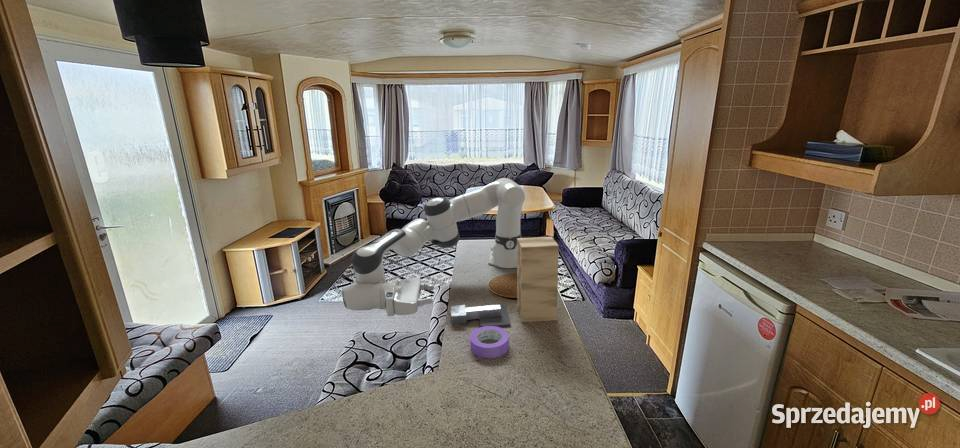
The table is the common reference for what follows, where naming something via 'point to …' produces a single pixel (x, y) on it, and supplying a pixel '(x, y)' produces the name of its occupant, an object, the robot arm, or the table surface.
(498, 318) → the mat
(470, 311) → the bar
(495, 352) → the masking tape
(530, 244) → the oak post
